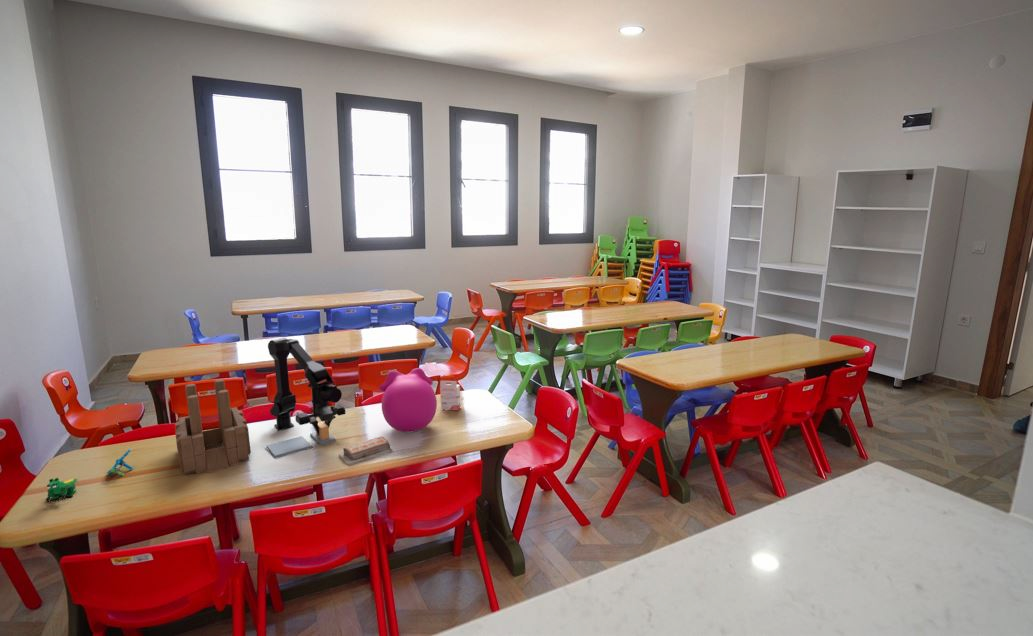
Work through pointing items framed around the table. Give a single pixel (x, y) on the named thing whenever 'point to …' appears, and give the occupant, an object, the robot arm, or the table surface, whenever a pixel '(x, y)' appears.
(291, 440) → the ticket board
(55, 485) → the crocodile
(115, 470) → the blue green toy
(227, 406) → the wooden toy structure
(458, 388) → the ink cartridge box
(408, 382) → the figurine
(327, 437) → the stub
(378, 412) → the table surface
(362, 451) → the packaged product
